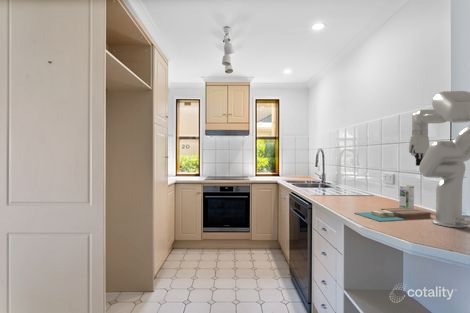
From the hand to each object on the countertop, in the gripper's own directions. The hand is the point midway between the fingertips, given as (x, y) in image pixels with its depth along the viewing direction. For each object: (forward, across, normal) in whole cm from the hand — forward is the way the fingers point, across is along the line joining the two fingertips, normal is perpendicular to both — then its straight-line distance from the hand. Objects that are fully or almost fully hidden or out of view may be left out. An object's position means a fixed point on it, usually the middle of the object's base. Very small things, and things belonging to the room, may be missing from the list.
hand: (419, 165), depth 148 cm
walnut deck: (+27, +14, +4) cm, 31 cm away
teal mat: (+27, +31, +4) cm, 42 cm away
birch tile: (+27, +28, +3) cm, 39 cm away
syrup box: (+27, -4, -12) cm, 30 cm away
